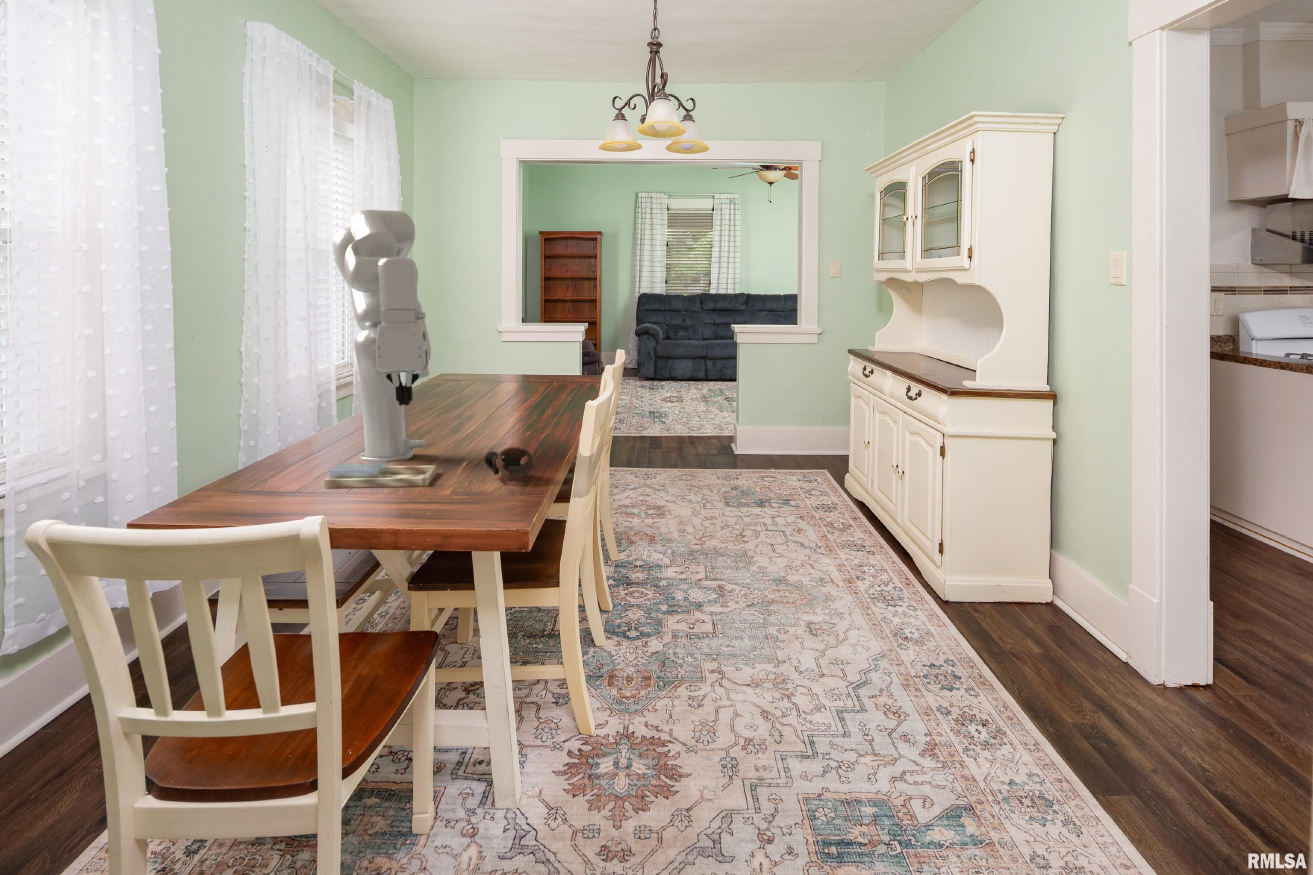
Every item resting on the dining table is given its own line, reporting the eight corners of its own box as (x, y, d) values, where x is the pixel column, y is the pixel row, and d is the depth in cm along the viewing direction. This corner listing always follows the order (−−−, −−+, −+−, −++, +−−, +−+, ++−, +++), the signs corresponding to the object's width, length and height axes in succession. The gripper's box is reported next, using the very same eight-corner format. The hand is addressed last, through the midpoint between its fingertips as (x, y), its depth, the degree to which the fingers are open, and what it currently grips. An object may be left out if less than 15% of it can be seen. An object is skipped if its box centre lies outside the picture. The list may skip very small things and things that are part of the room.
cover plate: (386, 475, 180) (385, 462, 179) (379, 483, 173) (378, 469, 172) (339, 476, 179) (338, 463, 178) (330, 484, 172) (329, 470, 172)
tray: (436, 475, 183) (436, 465, 183) (427, 488, 172) (426, 478, 171) (340, 476, 181) (340, 467, 181) (324, 490, 170) (323, 480, 169)
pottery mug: (540, 476, 185) (542, 449, 180) (523, 503, 178) (524, 476, 173) (491, 461, 187) (491, 434, 181) (472, 487, 179) (472, 460, 174)
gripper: (439, 317, 175) (443, 401, 178) (367, 317, 173) (372, 402, 177) (433, 318, 167) (437, 406, 171) (358, 318, 166) (364, 407, 169)
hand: (404, 404), depth 174 cm, fingers closed
